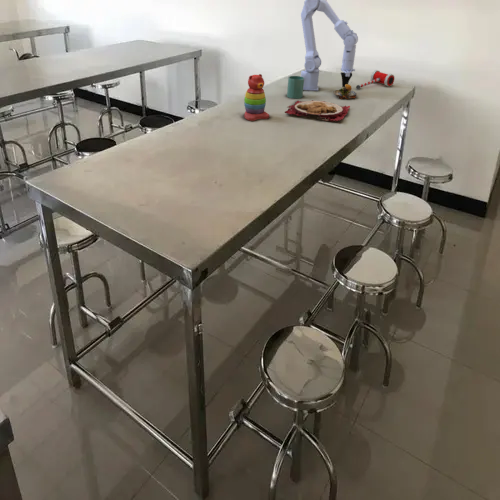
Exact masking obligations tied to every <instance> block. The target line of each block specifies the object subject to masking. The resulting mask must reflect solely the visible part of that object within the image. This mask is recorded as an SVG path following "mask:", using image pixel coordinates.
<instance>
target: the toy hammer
mask: <svg viewBox="0 0 500 500" xmlns="http://www.w3.org/2000/svg"><path fill="white" fill-rule="evenodd" d="M394 82H395V75H394V74H392V73H385V72H382V71H380V70H378V69H374V70H373V71H372V72H371V75H370V81H367V82H365V83H361V84H357V85H356V86H355V89H356V90H359V89H361V88H363V87H366V86H369V85H371V84H374V83H378V84H382V85H384V86H385V87H388V88H389V87H392V86H393V84H394Z"/></svg>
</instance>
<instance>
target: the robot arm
mask: <svg viewBox="0 0 500 500" xmlns="http://www.w3.org/2000/svg"><path fill="white" fill-rule="evenodd" d="M316 12H321V13H323V14H324V15H325V16H326V17H327V18H328V20H330V22H331V23H332V24H333V25H334V30H335V32H336V34H337V35H338V36H339V37H340V38H341V39H342V41H343V42H342V43H343V45H344V46H343V47H344V48H343V53H342V61H341V67H340V76H341V86H342V87H341V88H343V87H345V84H349V82H350V80H351V78H352V77H353V72H356V69H355V68H354V63H355V58H356V49H357V43H358V42H359V36H358V34H357V33H356V32H354V31H355V30H352V29H351V27H350V26H349V25H348V24H349V23H348V21H345V20H344V19H340V18H339V16H338V15H337V13H336V12H335V10H334V9H333V7H332V6H331V5H330V3H329V2H328V1H327V0H304V2H303V7H302V9H301V13H300V20H301V27H302V32H303V33H302V34H303V39H304V45H305V55H304V59H305V61H304V65H303V66H304V70H301V72H300V76H301V77H304V87H303V91H315V92H318V91H319V79H320V77H319V76H320V67H321V66H322V59H321V57H320V54H319V51H318V50H317V44H316V38H315V37H316V36H315V30H314V29H315V28H314V22H313V16H314V14H315V13H316Z"/></svg>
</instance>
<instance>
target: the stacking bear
mask: <svg viewBox="0 0 500 500" xmlns="http://www.w3.org/2000/svg"><path fill="white" fill-rule="evenodd" d="M247 85H248V88H247V90H246V91H245V95H244V109H245V111H244V115H243V117H244V119H245V120H247V121H250V122H254V121H256V120H267V119H268V120H269V118H270V114H269V113H268V112H267V111H265V109H266V102H267V100H266V99H267V98H266V92H265V90H264V86H265V79H264V77H263V75H262V74H261V73H259V74H252V75H249V77H248V80H247Z"/></svg>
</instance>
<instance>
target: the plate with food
mask: <svg viewBox="0 0 500 500" xmlns="http://www.w3.org/2000/svg"><path fill="white" fill-rule="evenodd" d="M286 108H287V110H285V111H284V114H288V115H294V116H297V117H301V116H302V117H309V115H314V116H315V115H316V116H318V120H319V121H321V120H322V121H325V122H332V123H333V122H338V121H343V120H344V118H345V116H347V114H348V112H349V111H350V108H351V106H350V105H343V106H341V105H338V104H336V103H334V102H328V101H325V100H313V99H312V100H304V101H300V100H297V101H296V102H295V103H294V104H291V105H288V106H287V107H286Z"/></svg>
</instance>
